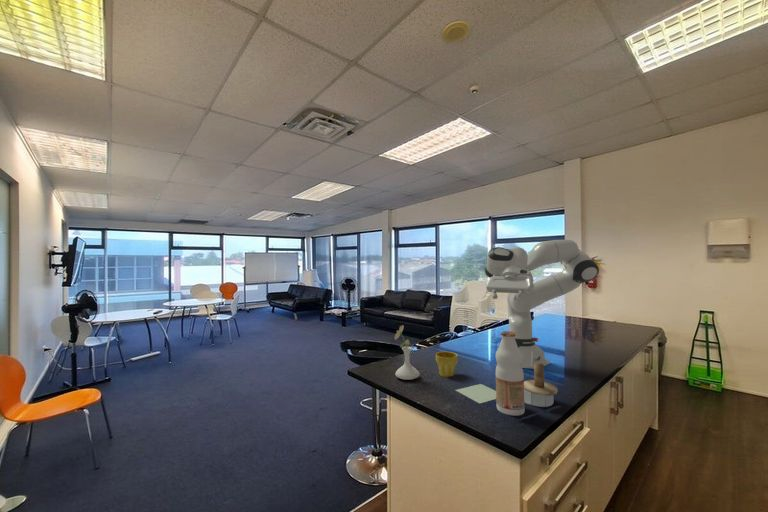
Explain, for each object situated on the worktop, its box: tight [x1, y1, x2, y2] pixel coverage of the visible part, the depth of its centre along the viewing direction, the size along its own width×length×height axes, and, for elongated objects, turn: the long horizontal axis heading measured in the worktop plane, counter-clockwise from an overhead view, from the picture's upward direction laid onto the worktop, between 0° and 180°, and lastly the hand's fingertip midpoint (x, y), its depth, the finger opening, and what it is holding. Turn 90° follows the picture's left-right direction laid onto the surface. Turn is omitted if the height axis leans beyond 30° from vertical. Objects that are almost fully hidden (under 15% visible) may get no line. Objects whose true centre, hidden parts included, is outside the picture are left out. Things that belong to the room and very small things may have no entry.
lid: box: [524, 362, 559, 396], centre depth 116 cm, size 12×12×9 cm
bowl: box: [524, 390, 555, 408], centre depth 116 cm, size 11×11×5 cm
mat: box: [455, 383, 496, 405], centre depth 123 cm, size 14×14×1 cm
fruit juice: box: [495, 330, 526, 417], centre depth 110 cm, size 9×9×28 cm
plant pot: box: [435, 351, 459, 378], centre depth 146 cm, size 10×10×10 cm
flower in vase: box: [393, 324, 421, 381], centre depth 143 cm, size 13×11×25 cm
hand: (504, 298), depth 134 cm, fingers open, 8 cm apart
